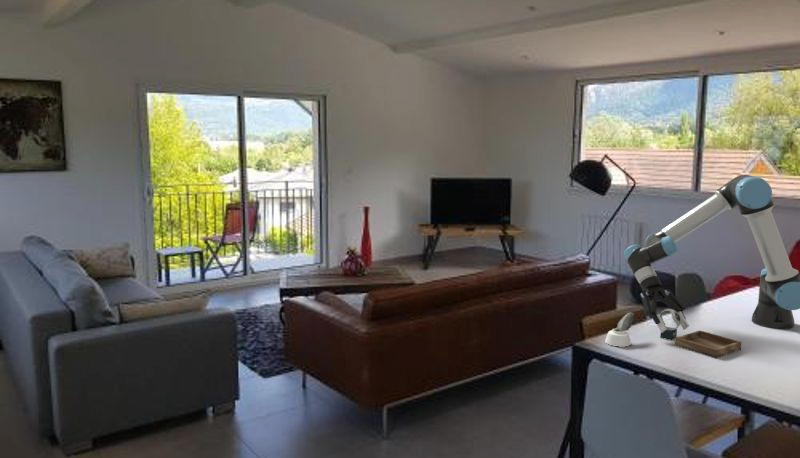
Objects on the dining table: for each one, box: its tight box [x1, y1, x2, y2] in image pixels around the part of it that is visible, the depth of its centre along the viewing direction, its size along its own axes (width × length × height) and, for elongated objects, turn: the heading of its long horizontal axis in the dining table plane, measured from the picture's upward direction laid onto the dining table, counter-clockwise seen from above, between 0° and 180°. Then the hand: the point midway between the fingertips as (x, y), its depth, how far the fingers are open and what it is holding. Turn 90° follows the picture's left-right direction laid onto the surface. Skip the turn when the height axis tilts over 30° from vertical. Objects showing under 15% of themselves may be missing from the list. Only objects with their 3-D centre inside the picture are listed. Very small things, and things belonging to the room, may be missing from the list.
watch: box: [658, 308, 681, 341], centre depth 240 cm, size 6×8×11 cm
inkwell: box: [604, 311, 635, 348], centre depth 237 cm, size 9×18×10 cm, turn 139°
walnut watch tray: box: [674, 329, 743, 359], centre depth 229 cm, size 16×16×3 cm
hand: (675, 329), depth 238 cm, fingers open, 10 cm apart
